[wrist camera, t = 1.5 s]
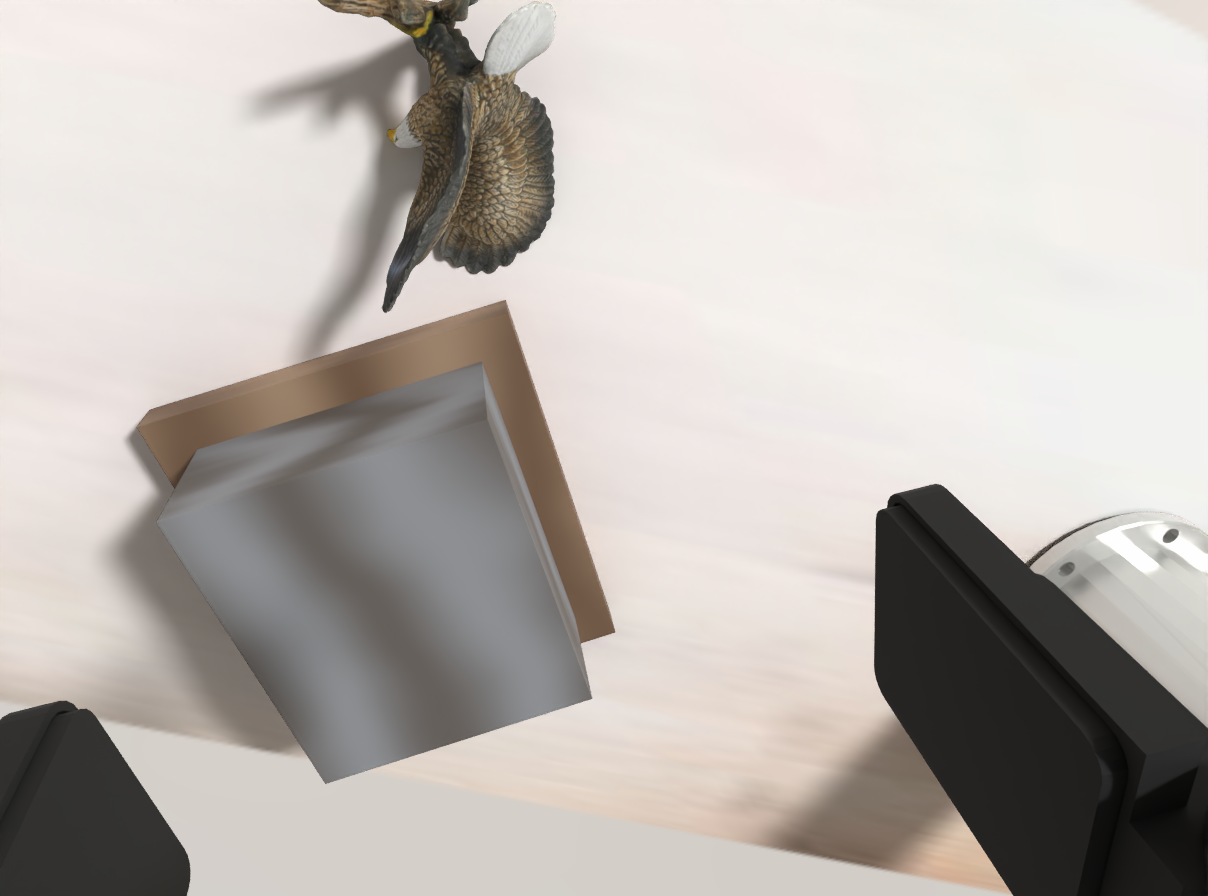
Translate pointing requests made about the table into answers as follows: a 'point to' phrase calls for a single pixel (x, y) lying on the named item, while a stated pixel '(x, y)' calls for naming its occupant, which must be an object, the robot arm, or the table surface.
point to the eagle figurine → (471, 137)
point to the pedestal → (388, 540)
